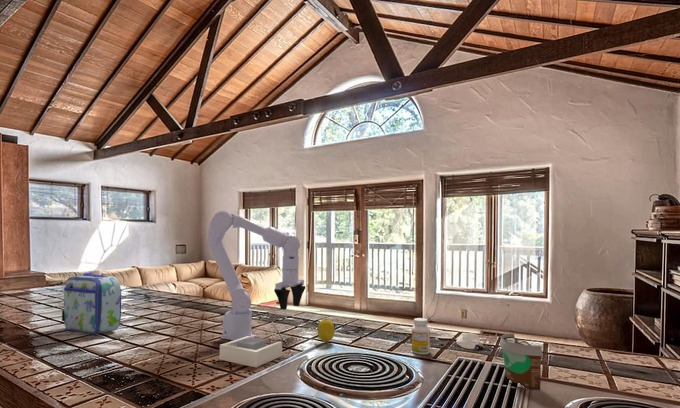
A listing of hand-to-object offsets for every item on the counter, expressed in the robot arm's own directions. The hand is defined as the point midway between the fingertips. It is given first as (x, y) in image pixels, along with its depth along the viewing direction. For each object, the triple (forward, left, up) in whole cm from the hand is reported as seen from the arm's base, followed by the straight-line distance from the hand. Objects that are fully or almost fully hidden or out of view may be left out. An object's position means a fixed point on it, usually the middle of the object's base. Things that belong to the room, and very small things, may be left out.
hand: (290, 307), depth 135 cm
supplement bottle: (+47, +3, -10) cm, 48 cm away
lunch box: (-68, -32, -10) cm, 76 cm away
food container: (+74, -9, -10) cm, 75 cm away
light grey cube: (+6, -26, -10) cm, 29 cm away
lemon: (+17, -3, -10) cm, 20 cm away
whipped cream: (+58, +17, -10) cm, 61 cm away
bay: (+6, -26, -9) cm, 28 cm away
